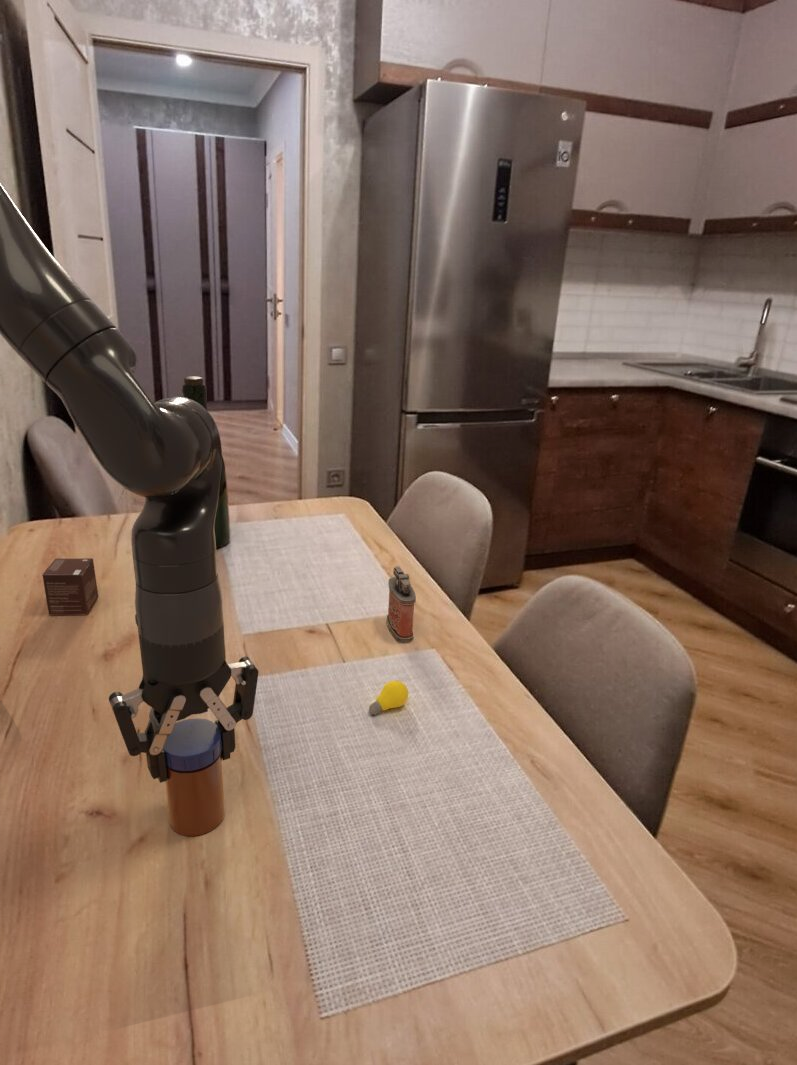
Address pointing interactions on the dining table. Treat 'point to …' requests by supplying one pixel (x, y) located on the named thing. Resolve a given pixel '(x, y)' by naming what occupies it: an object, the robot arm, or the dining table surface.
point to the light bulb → (390, 697)
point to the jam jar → (196, 799)
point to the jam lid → (192, 744)
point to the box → (70, 586)
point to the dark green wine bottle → (197, 393)
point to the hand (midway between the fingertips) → (193, 764)
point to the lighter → (401, 606)
